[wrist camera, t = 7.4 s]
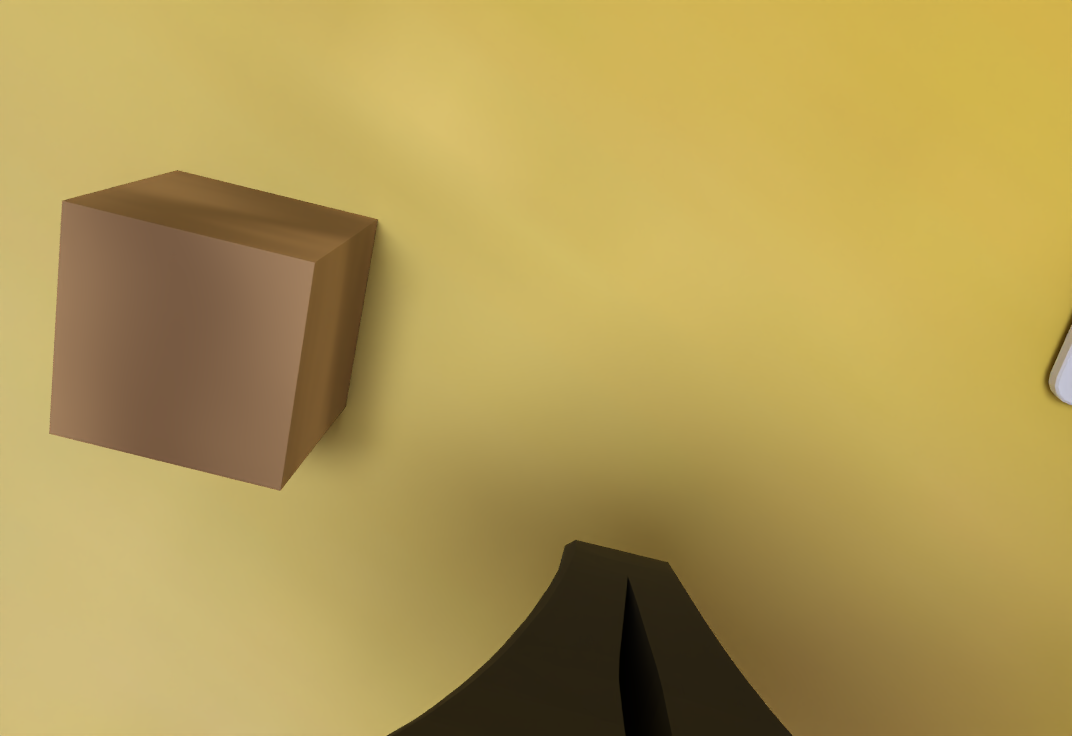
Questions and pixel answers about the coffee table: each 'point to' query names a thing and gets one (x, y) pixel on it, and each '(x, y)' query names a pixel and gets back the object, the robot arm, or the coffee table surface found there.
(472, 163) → the coffee table surface
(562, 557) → the robot arm
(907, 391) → the coffee table surface
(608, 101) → the coffee table surface
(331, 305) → the walnut block
